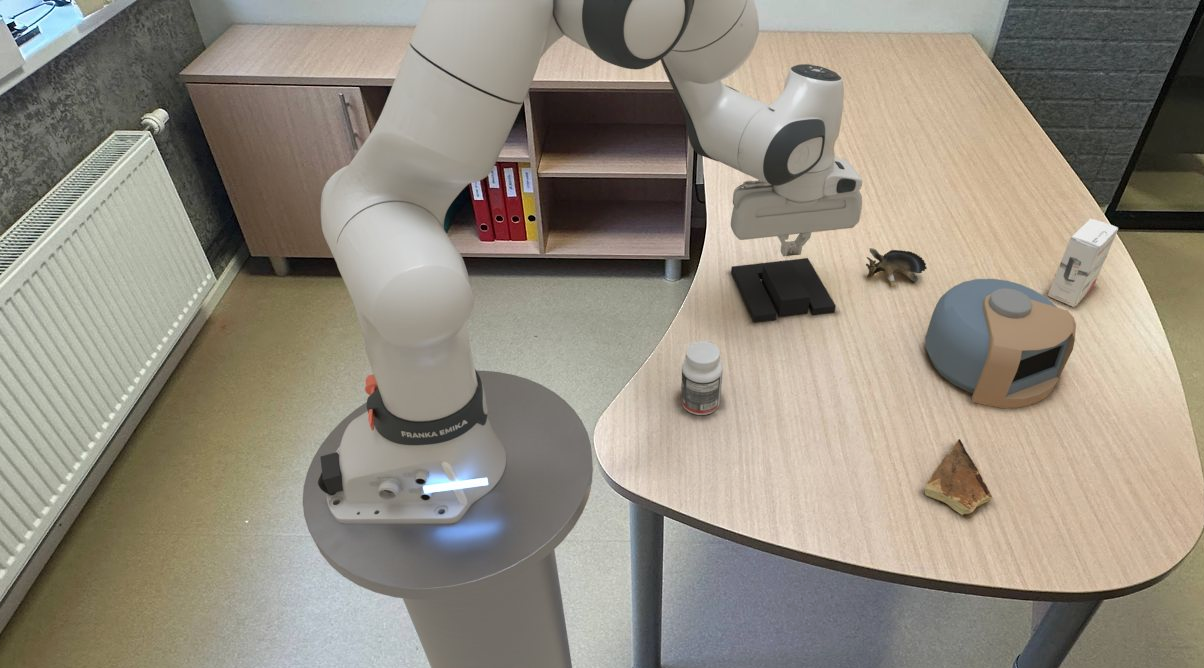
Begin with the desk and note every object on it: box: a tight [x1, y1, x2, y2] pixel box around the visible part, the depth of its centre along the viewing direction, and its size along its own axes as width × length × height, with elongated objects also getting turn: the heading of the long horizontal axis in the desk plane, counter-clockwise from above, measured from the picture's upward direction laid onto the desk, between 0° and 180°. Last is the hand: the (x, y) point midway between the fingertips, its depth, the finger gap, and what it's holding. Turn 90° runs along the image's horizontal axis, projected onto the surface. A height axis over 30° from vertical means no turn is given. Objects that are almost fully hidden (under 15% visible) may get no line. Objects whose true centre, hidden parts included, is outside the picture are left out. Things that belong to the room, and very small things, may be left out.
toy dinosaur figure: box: [865, 247, 928, 288], centre depth 135 cm, size 8×7×9 cm
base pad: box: [730, 257, 837, 324], centre depth 133 cm, size 14×14×2 cm
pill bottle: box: [680, 340, 724, 416], centre depth 111 cm, size 6×6×10 cm
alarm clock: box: [924, 278, 1077, 409], centre depth 117 cm, size 19×20×12 cm
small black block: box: [761, 262, 810, 318], centre depth 131 cm, size 5×10×4 cm, turn 12°
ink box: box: [1047, 218, 1119, 308], centre depth 131 cm, size 9×5×12 cm, turn 137°
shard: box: [924, 438, 993, 516], centre depth 103 cm, size 11×8×2 cm
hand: (790, 253), depth 126 cm, fingers closed
